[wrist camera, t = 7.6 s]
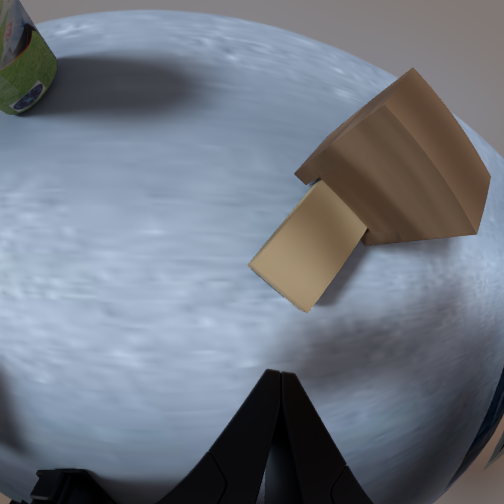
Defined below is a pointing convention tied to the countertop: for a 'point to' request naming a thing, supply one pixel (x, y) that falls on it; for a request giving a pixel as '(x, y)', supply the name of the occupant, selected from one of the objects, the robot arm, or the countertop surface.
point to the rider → (404, 167)
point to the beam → (309, 247)
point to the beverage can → (22, 60)
